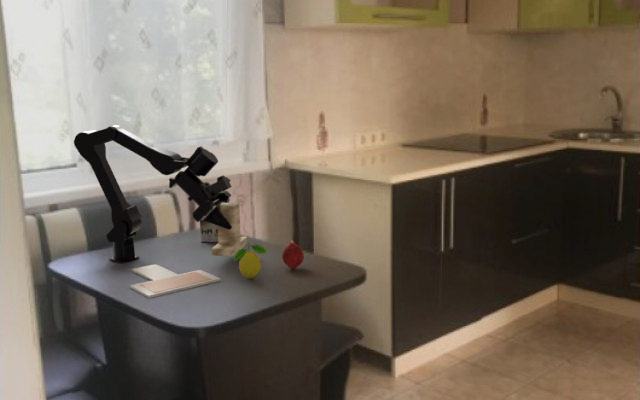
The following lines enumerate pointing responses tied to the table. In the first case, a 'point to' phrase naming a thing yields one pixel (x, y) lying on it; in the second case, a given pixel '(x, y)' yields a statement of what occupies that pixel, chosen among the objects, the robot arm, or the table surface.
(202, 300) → the table surface
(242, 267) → the lemon
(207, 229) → the coffee box
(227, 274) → the table surface
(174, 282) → the tee mat
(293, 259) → the onion
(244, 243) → the birch tee block
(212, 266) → the table surface
